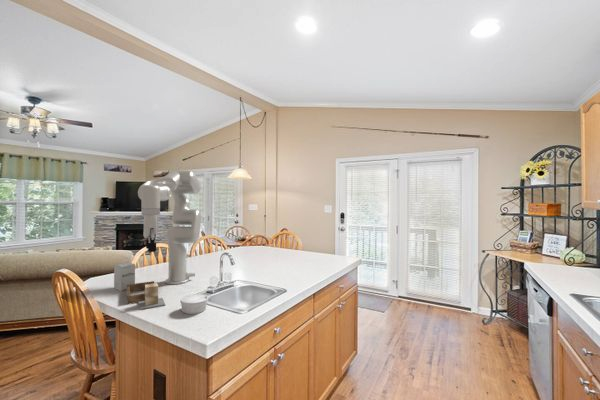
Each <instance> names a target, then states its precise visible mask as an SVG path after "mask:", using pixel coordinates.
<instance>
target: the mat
mask: <svg viewBox="0 0 600 400" xmlns="http://www.w3.org/2000/svg"><path fill="white" fill-rule="evenodd" d="M137 304H138V308H139V311H143V310H147V309H148V310H149V309H154V308H160V307H164V306H165V307H166V302H165V301H164V298H163V297H158V304H153V305H147V306H146V305H145V301H139V302H137Z"/></svg>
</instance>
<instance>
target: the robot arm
mask: <svg viewBox="0 0 600 400" xmlns="http://www.w3.org/2000/svg"><path fill="white" fill-rule="evenodd" d="M201 188H202V186H201V182H200V180H199V178H198V177H197V175H196V174H195V173H194V172H193V171H191V170H171V171H170V172H169V173H167V174H166V175H164V176H162V177H158V178H155V179H151V180H150V179H149V180H148V181H145V182H144V183H143V184H141V185H140V186H139V188H138V190H137V196H138V198H139V200H140V201H141V217H143V237H144V239H145V248H146V249H147V252H148V253H153V252H154V253H155V252H157V237H158V216H161V202H166V201H168V200H170V198H171V197H173V200H174V205H173V210H172V211H173V212H172V223H173V225H176V226H172V227H171V226H170V227H169V228H168V229H167V231H166V238H167V239H166V240H167V246H168V278H167V279H165V284H167V285H180V284H181V285H182V284H185V283H188V282H189V281H190V277H191V278H192V277H193V278H194V277H195V276H196V274H195V272H189V273H188V272H187V248H186V246H185V245H184V244H194V243H197V242H198V241H199V239H200V235H201V234H200V233H201V224H202V214H201V211H200V210H199V209H196V208H190V206H191V205H190V204H191V201H190V199H189V198H188V197H187V196H186V194H187V195H188V194H190V195H193V194H194V195H195V194H199V193H200V191H201Z"/></svg>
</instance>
